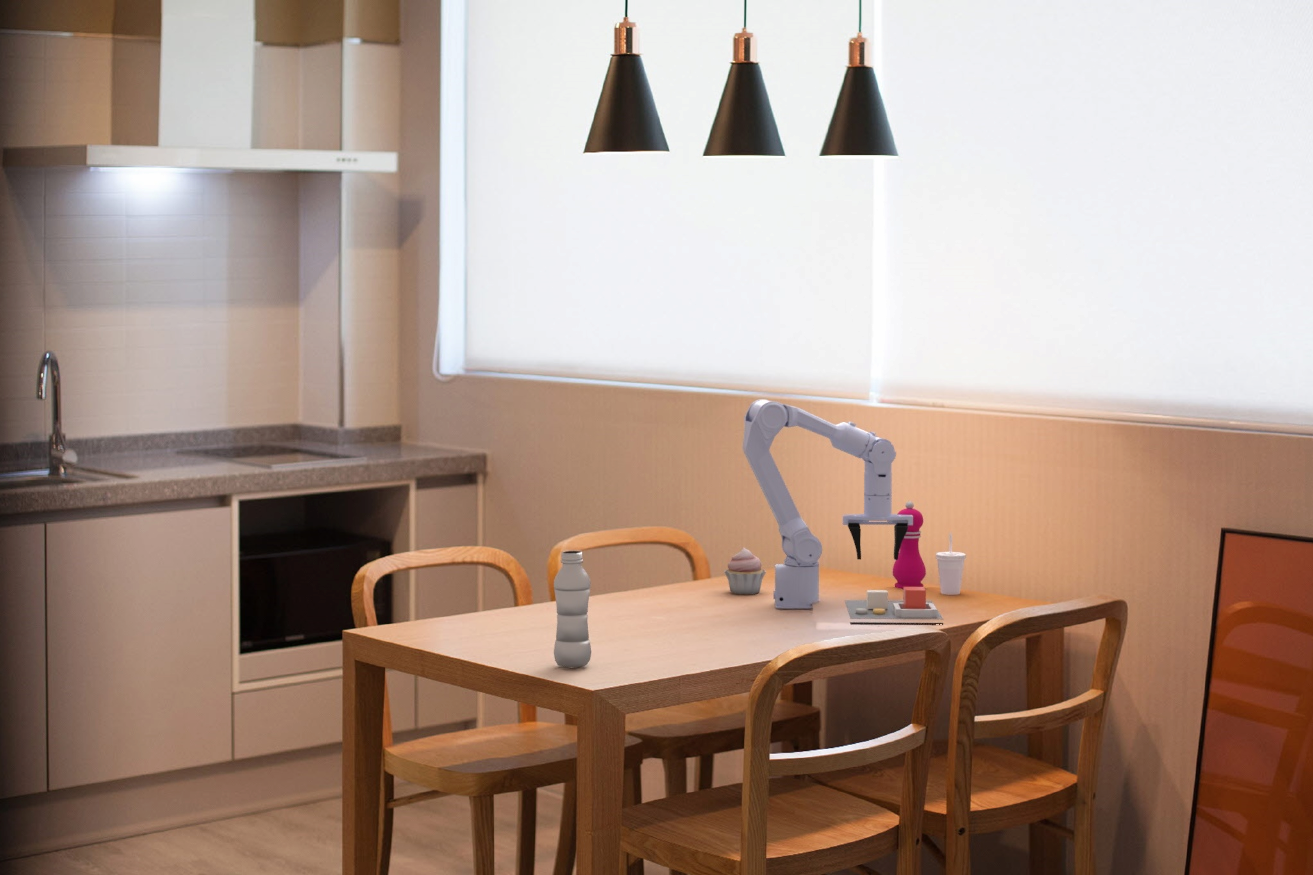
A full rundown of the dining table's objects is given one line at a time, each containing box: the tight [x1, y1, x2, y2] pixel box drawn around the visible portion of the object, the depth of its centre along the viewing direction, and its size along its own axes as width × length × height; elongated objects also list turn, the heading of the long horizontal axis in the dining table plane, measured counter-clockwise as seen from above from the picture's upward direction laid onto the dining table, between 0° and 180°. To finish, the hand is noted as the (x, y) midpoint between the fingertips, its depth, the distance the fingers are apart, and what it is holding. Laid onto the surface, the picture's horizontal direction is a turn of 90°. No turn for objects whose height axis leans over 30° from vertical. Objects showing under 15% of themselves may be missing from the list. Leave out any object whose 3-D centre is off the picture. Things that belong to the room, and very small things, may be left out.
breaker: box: [866, 589, 889, 609], centre depth 312 cm, size 4×2×3 cm, turn 86°
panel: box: [844, 599, 944, 626], centre depth 311 cm, size 18×20×3 cm
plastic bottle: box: [553, 550, 592, 668], centre depth 265 cm, size 6×7×20 cm
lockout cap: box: [902, 587, 927, 609], centre depth 306 cm, size 4×4×5 cm
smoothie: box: [935, 532, 967, 596], centre depth 329 cm, size 6×6×14 cm
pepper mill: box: [892, 500, 927, 590], centre depth 337 cm, size 7×7×20 cm
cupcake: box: [723, 546, 767, 595], centre depth 338 cm, size 9×9×10 cm
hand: (877, 558), depth 324 cm, fingers open, 7 cm apart
